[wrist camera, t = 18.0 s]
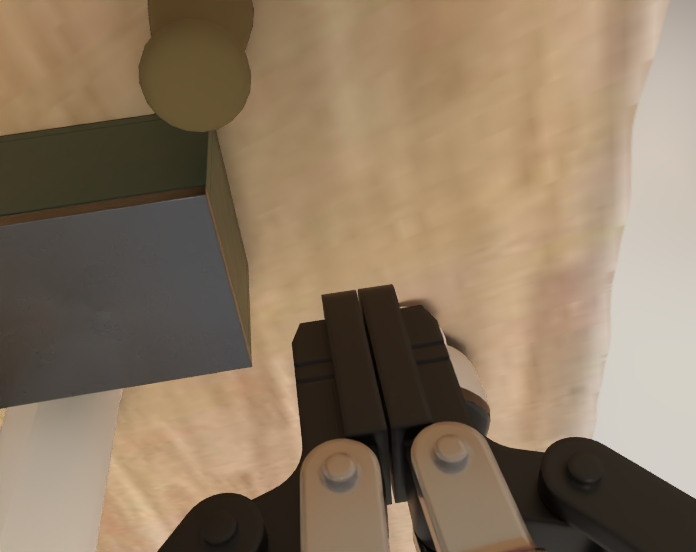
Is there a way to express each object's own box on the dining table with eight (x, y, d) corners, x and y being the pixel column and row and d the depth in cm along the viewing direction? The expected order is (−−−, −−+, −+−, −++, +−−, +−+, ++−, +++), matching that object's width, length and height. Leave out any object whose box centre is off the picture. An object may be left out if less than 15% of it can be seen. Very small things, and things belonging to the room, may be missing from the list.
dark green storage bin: (46, 297, 50) (16, 393, 43) (-34, 140, 42) (-88, 227, 35) (248, 266, 51) (251, 355, 44) (209, 106, 43) (206, 184, 35)
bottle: (56, 401, 58) (-57, 849, 35) (3, 341, 53) (-170, 820, 30) (143, 377, 57) (87, 814, 34) (98, 313, 52) (-4, 778, 29)
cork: (179, 77, 41) (166, 168, 33) (127, -20, 37) (98, 56, 29) (270, 41, 40) (281, 125, 32) (226, -61, 37) (226, 4, 28)
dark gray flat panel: (3, 397, 43) (-1, 409, 42) (-105, 231, 34) (-113, 243, 34) (251, 355, 44) (252, 366, 43) (206, 184, 35) (205, 194, 35)
